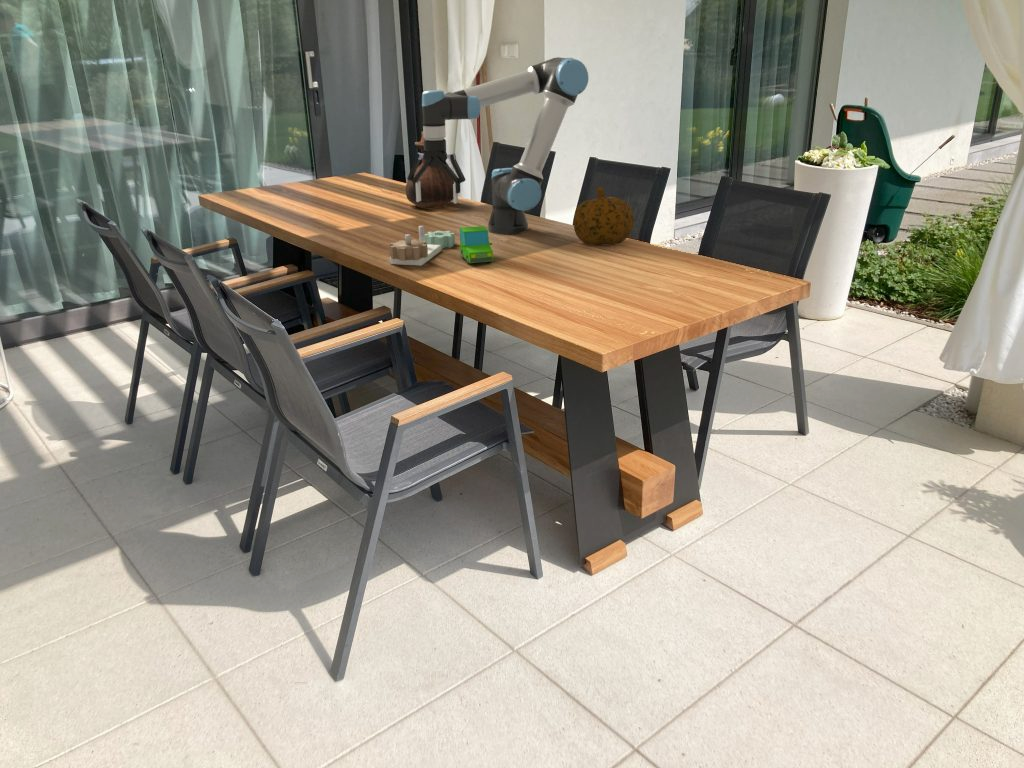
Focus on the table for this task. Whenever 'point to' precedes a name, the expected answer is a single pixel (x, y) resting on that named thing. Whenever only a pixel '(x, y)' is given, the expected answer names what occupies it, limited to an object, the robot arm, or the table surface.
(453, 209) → the table surface
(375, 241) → the table surface
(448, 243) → the loose gear
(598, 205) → the decorative pumpkin
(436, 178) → the brown wooden bulbous vase
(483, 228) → the toy car
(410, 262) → the gear board
